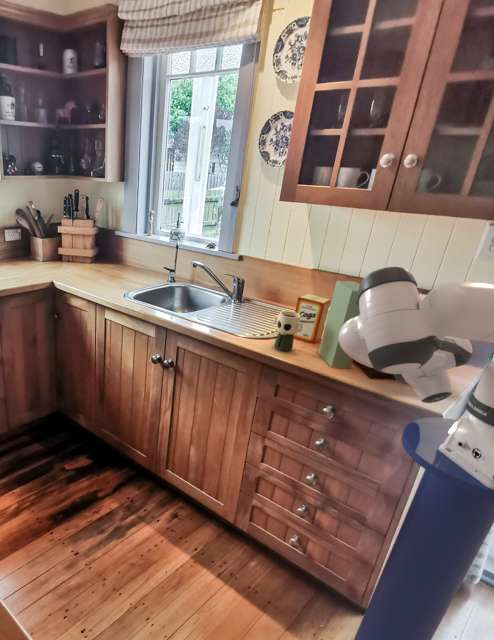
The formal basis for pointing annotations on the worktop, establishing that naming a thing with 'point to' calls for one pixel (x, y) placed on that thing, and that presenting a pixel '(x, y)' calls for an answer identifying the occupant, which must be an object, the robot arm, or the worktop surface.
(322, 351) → the green box
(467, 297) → the robot arm
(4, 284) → the worktop surface
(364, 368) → the trash bin
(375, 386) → the worktop surface
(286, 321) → the character mug
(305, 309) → the baking soda box
